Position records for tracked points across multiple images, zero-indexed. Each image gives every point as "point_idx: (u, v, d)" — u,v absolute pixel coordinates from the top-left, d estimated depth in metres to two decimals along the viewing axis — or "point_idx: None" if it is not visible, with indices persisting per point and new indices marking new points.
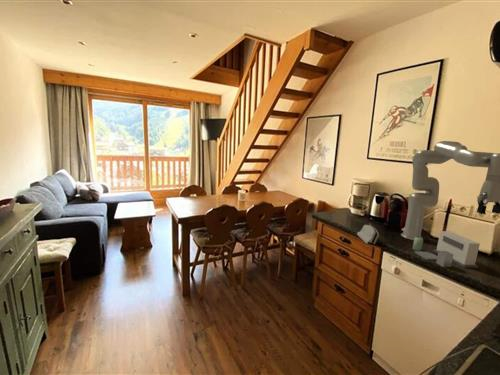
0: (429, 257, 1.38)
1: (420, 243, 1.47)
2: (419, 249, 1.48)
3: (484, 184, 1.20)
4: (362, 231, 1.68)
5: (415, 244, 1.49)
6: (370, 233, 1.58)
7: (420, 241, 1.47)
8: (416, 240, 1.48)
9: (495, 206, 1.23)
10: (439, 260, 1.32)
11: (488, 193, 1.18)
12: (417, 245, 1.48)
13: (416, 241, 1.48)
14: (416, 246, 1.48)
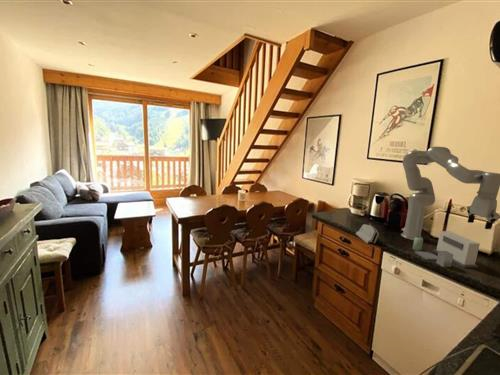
0: (429, 257, 1.38)
1: (420, 243, 1.47)
2: (419, 249, 1.48)
3: (492, 203, 1.28)
4: (361, 231, 1.68)
5: (415, 244, 1.49)
6: (370, 233, 1.58)
7: (420, 241, 1.47)
8: (416, 240, 1.48)
9: (471, 217, 1.39)
10: (439, 260, 1.32)
11: (495, 210, 1.29)
12: (417, 245, 1.48)
13: (416, 241, 1.48)
14: (416, 246, 1.48)
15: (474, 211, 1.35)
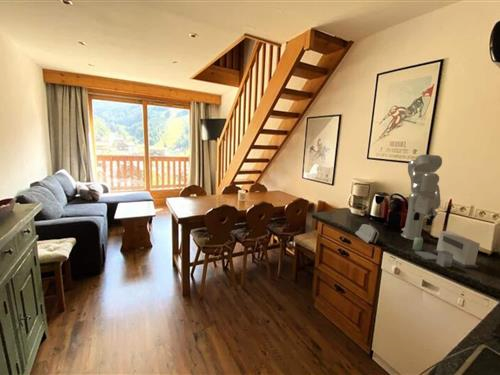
0: (429, 257, 1.38)
1: (420, 243, 1.47)
2: (419, 249, 1.48)
3: (430, 201, 1.40)
4: (360, 230, 1.69)
5: (415, 244, 1.49)
6: (370, 232, 1.59)
7: (420, 241, 1.47)
8: (416, 240, 1.48)
9: (416, 215, 1.51)
10: (439, 260, 1.32)
11: (434, 208, 1.40)
12: (417, 245, 1.48)
13: (416, 241, 1.48)
14: (416, 246, 1.48)
15: (417, 209, 1.47)
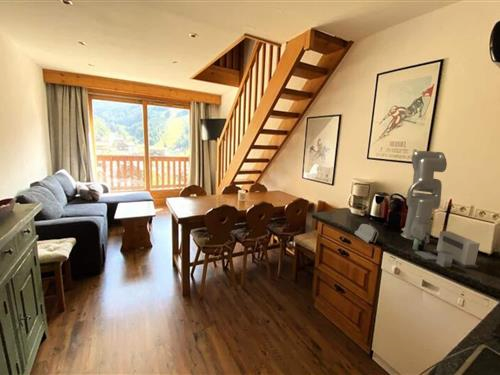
0: (429, 257, 1.38)
1: None
2: None
3: (425, 227, 1.43)
4: (360, 230, 1.69)
5: (415, 244, 1.49)
6: (370, 232, 1.59)
7: None
8: (416, 240, 1.48)
9: None
10: (439, 260, 1.32)
11: (428, 233, 1.43)
12: (417, 245, 1.48)
13: (416, 241, 1.48)
14: (416, 246, 1.48)
15: (413, 233, 1.50)
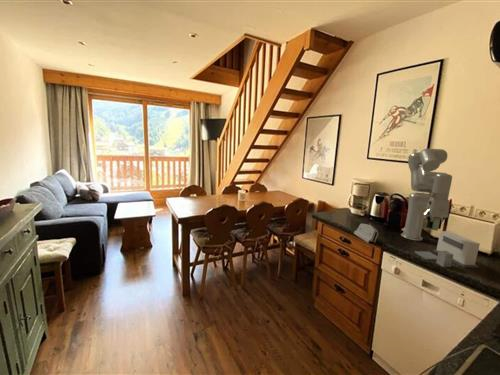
0: (429, 257, 1.38)
1: None
2: None
3: None
4: (359, 230, 1.70)
5: (438, 224, 1.36)
6: (370, 232, 1.60)
7: None
8: (439, 219, 1.35)
9: None
10: (439, 260, 1.32)
11: None
12: None
13: (439, 220, 1.36)
14: (438, 225, 1.36)
15: (437, 214, 1.34)
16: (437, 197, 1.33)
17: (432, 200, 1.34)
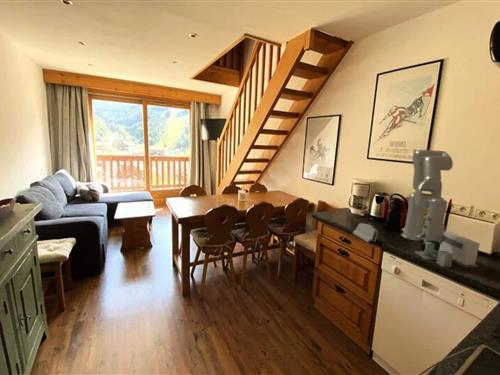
0: (429, 257, 1.38)
1: None
2: None
3: None
4: (358, 230, 1.70)
5: (432, 250, 1.39)
6: (369, 231, 1.61)
7: None
8: (433, 246, 1.38)
9: None
10: (439, 260, 1.32)
11: None
12: (433, 250, 1.39)
13: (433, 247, 1.38)
14: None
15: (432, 238, 1.36)
16: (432, 222, 1.35)
17: (427, 224, 1.37)
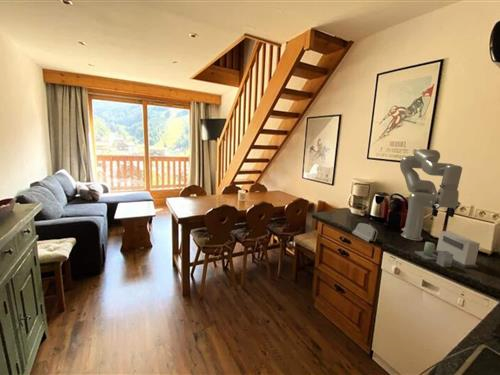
0: (429, 257, 1.38)
1: None
2: None
3: None
4: (357, 229, 1.70)
5: (432, 250, 1.39)
6: (369, 231, 1.61)
7: None
8: (434, 246, 1.38)
9: None
10: (439, 260, 1.32)
11: None
12: (433, 250, 1.39)
13: (433, 247, 1.38)
14: None
15: (446, 205, 1.37)
16: (446, 188, 1.36)
17: (441, 191, 1.37)
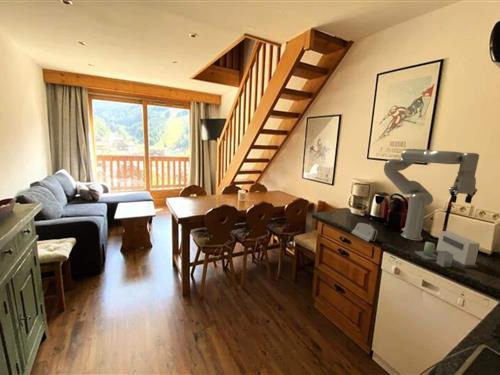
0: (429, 257, 1.38)
1: None
2: None
3: None
4: (357, 229, 1.71)
5: (432, 250, 1.39)
6: (369, 231, 1.62)
7: None
8: (434, 246, 1.38)
9: None
10: (439, 260, 1.32)
11: None
12: (433, 250, 1.39)
13: (433, 247, 1.38)
14: None
15: (464, 191, 1.43)
16: (464, 175, 1.41)
17: (459, 178, 1.43)
